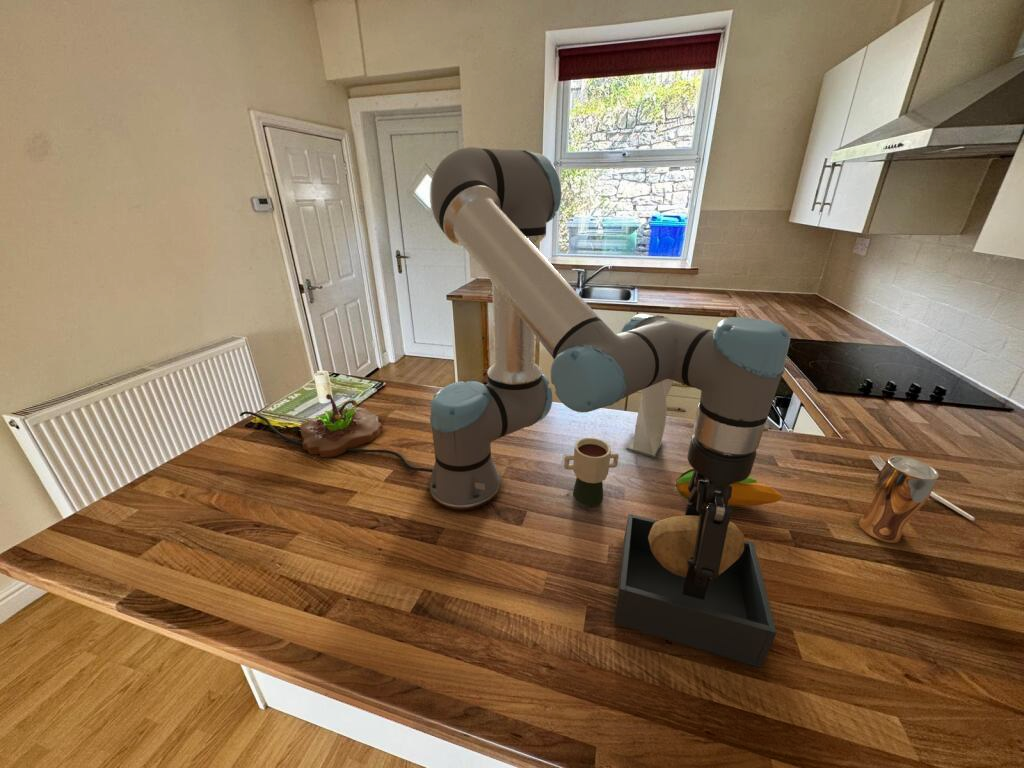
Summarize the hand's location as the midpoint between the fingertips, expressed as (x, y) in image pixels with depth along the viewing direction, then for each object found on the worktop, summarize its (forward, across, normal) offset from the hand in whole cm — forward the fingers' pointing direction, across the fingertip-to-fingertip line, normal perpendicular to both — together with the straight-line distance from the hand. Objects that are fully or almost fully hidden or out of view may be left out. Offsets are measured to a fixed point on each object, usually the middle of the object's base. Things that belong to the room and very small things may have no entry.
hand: (690, 564), depth 61 cm
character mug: (+8, +18, +18) cm, 27 cm away
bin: (+8, 0, 0) cm, 8 cm away
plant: (+8, +22, +85) cm, 88 cm away
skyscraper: (+8, +41, +7) cm, 42 cm away
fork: (+8, +44, -49) cm, 66 cm away
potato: (0, 0, 0) cm, 0 cm away
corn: (+8, +26, -9) cm, 29 cm away
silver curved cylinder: (+8, +27, -36) cm, 46 cm away
